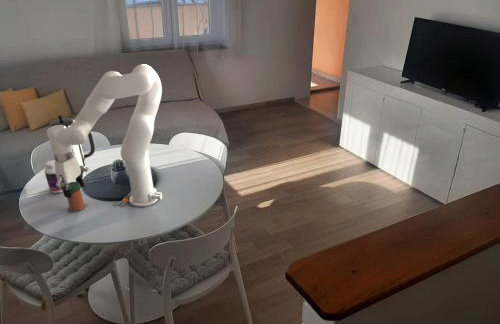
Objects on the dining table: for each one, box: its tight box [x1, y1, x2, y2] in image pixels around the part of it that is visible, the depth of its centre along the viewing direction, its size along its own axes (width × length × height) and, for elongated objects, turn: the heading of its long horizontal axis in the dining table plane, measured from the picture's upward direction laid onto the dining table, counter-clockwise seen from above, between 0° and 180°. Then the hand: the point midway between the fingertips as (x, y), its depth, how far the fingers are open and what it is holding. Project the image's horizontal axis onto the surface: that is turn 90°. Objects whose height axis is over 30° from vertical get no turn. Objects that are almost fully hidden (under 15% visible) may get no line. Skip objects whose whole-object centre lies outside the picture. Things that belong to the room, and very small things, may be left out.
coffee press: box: [48, 114, 96, 172], centre depth 205 cm, size 17×16×30 cm
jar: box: [66, 189, 85, 212], centre depth 176 cm, size 6×6×10 cm
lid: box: [64, 181, 82, 193], centre depth 174 cm, size 7×7×2 cm
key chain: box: [115, 190, 132, 206], centre depth 183 cm, size 13×4×2 cm, turn 157°
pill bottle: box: [44, 159, 65, 194], centre depth 190 cm, size 8×8×14 cm
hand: (74, 191), depth 175 cm, fingers open, 8 cm apart
